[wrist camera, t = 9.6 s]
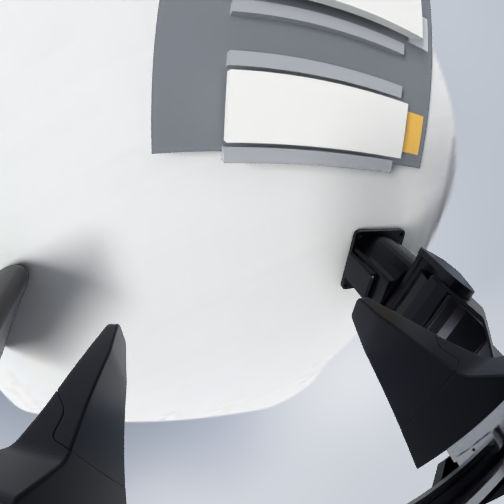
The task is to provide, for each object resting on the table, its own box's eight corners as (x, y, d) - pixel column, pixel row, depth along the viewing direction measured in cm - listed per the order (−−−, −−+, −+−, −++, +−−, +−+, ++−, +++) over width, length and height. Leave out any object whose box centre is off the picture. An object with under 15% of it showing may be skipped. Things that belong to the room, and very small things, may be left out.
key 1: (398, 102, 17) (408, 104, 16) (391, 154, 19) (400, 158, 18) (227, 71, 14) (230, 69, 13) (223, 140, 16) (226, 142, 15)
